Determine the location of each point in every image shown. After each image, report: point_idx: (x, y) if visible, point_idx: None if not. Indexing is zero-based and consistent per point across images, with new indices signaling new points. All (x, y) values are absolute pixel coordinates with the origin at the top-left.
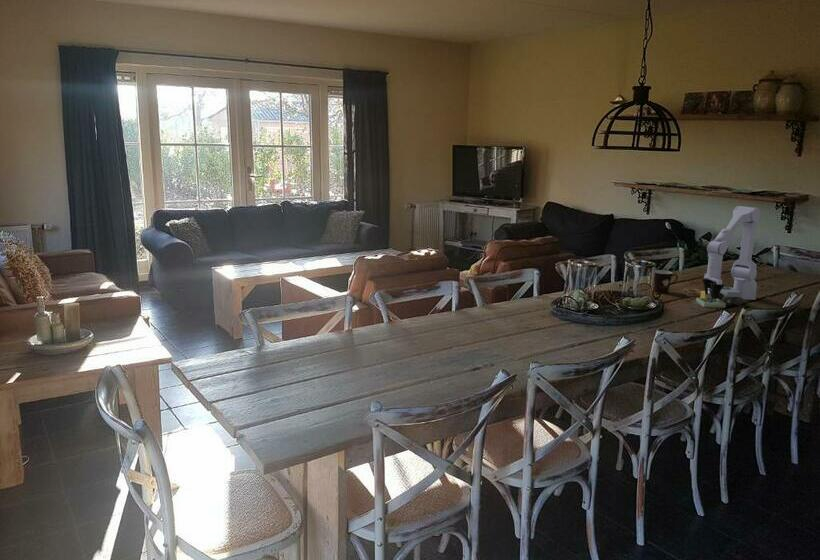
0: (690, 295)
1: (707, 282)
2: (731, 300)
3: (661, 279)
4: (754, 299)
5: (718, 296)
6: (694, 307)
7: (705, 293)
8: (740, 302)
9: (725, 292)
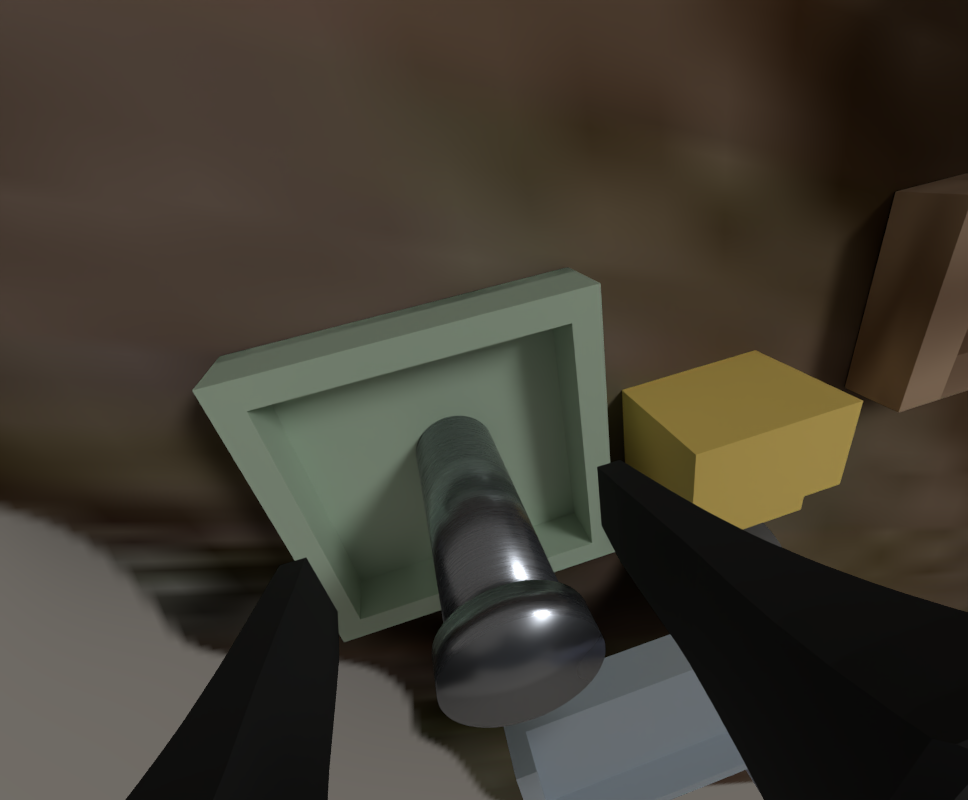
0: (899, 234)
1: (808, 726)
2: None
3: None
4: None
5: None
6: (92, 172)
7: (619, 468)
8: None
9: (618, 705)
